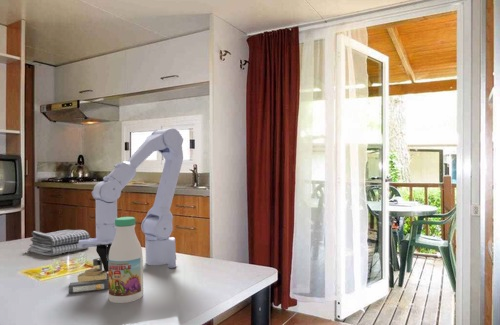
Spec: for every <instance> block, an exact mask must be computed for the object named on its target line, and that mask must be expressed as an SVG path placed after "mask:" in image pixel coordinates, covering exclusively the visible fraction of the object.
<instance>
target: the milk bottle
mask: <svg viewBox="0 0 500 325" xmlns="http://www.w3.org/2000/svg"><path fill="white" fill-rule="evenodd" d="M135 227H136V217H134V216H121V217H117V218H116V219H115V228H116V234H115V238H114V240H113V242H112V245H111V247H110V251H109V262H108V272H107V273H108V274H107V276H108V279H109V289H108V301H109V302H111V303H114V304H115V303H116V304H125V303H130V302H134V301H137V300H139V299H141V298H143V296H144V260H143V258H144V257H143V247H142V246H141V243H140V241H139V239H138V236H137V234H136V230H135Z"/></svg>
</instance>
